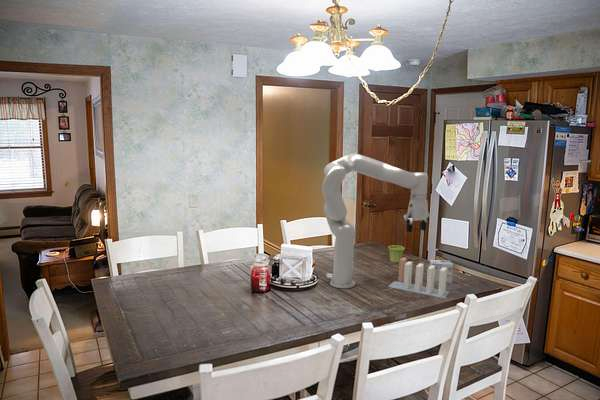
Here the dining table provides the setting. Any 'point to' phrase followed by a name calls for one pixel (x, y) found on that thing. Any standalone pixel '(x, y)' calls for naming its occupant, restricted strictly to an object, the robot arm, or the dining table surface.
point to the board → (412, 288)
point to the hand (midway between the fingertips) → (416, 230)
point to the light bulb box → (439, 265)
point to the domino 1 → (402, 269)
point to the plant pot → (395, 253)
